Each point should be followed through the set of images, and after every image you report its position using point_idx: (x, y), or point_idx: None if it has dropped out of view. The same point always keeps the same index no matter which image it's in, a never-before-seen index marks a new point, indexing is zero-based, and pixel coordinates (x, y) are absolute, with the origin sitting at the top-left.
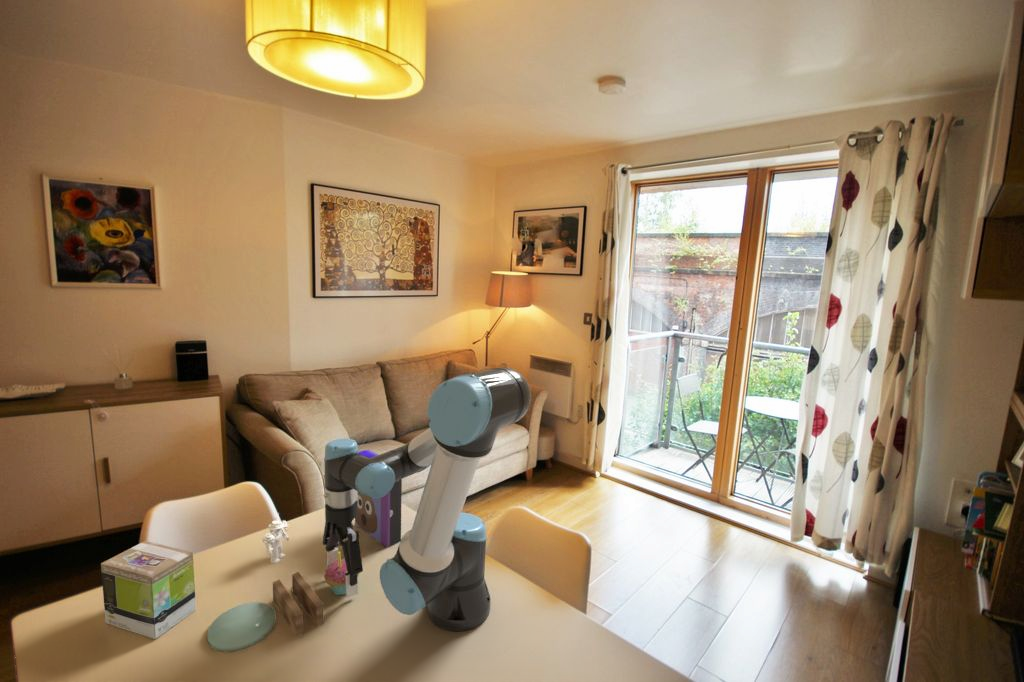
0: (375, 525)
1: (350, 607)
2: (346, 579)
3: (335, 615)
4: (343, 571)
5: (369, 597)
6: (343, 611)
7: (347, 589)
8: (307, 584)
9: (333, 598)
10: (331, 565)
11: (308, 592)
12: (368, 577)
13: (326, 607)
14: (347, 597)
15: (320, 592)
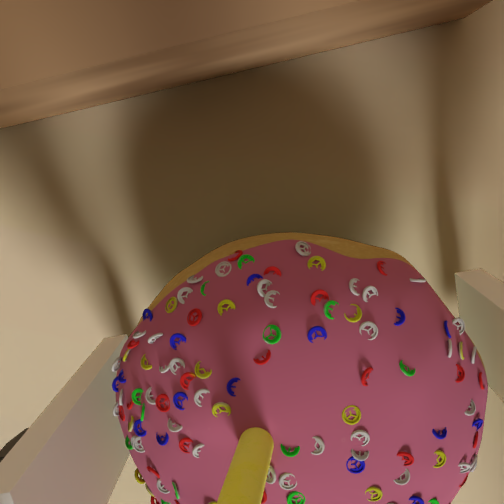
0: None
1: (66, 330)
2: (33, 435)
3: (26, 226)
4: (170, 447)
5: None
6: (45, 281)
7: (72, 379)
8: (227, 22)
9: None
10: (366, 357)
11: (69, 10)
12: None
13: (135, 187)
14: (101, 343)
15: (330, 179)
